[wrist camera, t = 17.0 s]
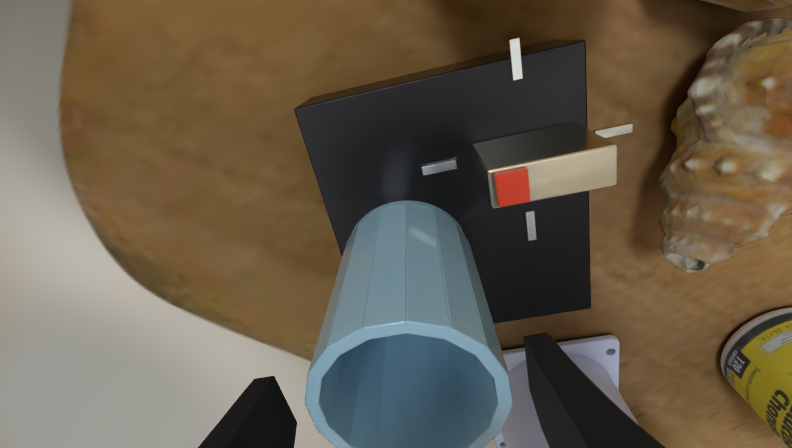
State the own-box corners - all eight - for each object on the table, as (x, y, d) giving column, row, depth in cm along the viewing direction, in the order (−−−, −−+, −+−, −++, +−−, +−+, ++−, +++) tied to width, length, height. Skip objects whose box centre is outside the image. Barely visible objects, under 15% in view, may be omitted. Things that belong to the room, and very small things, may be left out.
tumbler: (477, 296, 19) (521, 457, 12) (363, 315, 19) (338, 479, 12) (459, 188, 17) (499, 306, 9) (331, 213, 17) (276, 342, 10)
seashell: (736, 172, 22) (783, 328, 16) (605, 110, 22) (602, 241, 16) (967, 10, 15) (1217, 180, 9) (772, -82, 15) (884, 21, 9)
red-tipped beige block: (574, 121, 15) (622, 145, 12) (575, 156, 16) (622, 188, 12) (471, 143, 16) (488, 172, 12) (475, 176, 16) (494, 212, 13)
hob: (598, 269, 21) (627, 305, 19) (374, 307, 23) (369, 345, 20) (596, 13, 16) (636, 9, 13) (306, 84, 18) (287, 93, 15)
